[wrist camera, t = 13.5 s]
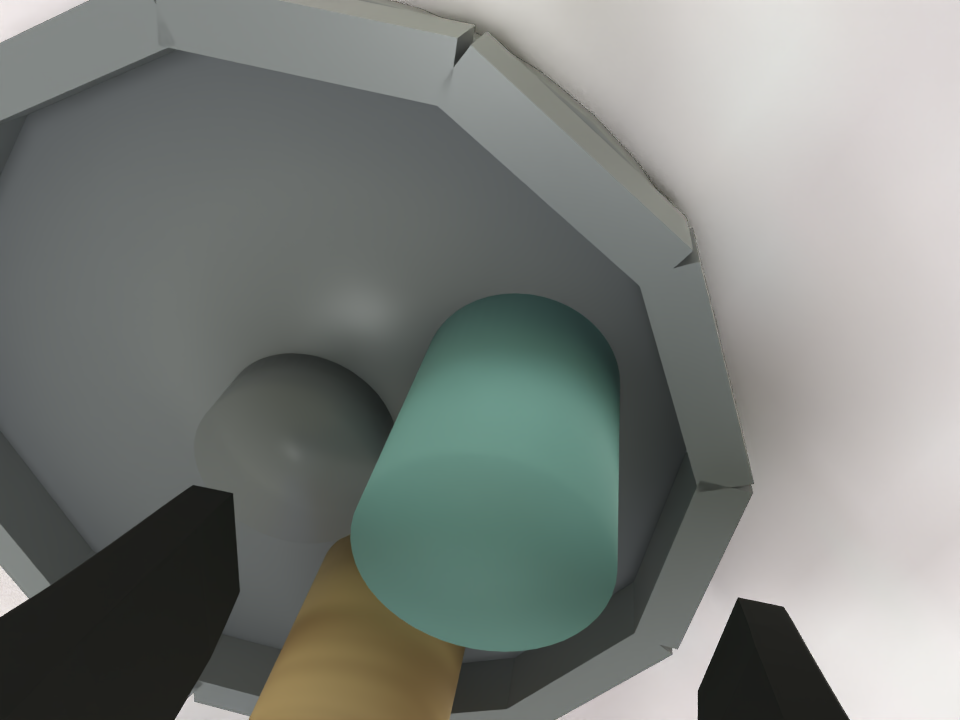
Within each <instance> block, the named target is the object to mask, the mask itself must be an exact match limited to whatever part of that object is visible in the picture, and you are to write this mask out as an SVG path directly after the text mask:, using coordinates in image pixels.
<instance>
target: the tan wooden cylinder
mask: <svg viewBox="0 0 960 720" xmlns="http://www.w3.org/2000/svg"><path fill="white" fill-rule="evenodd" d="M350 535H351V534H350ZM350 535H348V536H346V537H344V538H341V539H340V540H338V541H337V542H336V543H335V544H334V545H333V546H332V547H331V548H330V549H329V551H328V552H327V554H326V556H325V558H324V560H323V562H322V564H321V566H320V569H319V571H318V573H317V575H316V577H315V579H314V581H313V583H312V586H311V588H310V590H309V592H308V594H307V596H306V598H305V601H304V603H303V605H302V607H301V609H300V611H299V613H298V615H297V618H296V620H295V622H294V624H293V626H292V628H291V630H290V633H289V635H288V637H287V639H286V641H285V643H284V645H283V648H282V650H281V652H280V654H279V656H278V658H277V660H276V662H275V665H274V667H273V669H272V671H271V673H270V675H269V677H268V680H267V682H266V684H265V686H264V688H263V690H262V692H261V694H260V697H259V699H258V701H257V703H256V705H255V707H254V709H253V712H252V714H251V716H250V718H249V720H450V715H451V711H452V706H453V701H454V697H455V692H456V688H457V683H458V679H459V674H460V670H461V665H462V660H463V656H464V651H465V647H463V646H459V645H455V644H452V643H449V642H446V641H443V640H440V639H438V638H435V637H433V636H430V635H428V634H426V633H424V632H422V631H420V630H418V629H416V628H414V627H413V626H411V625H409V624H408V623H406V622H405V621H403V620H402V619H400V618H399V617H398V616H396V615H395V614H394V613H393V612H391V611H390V610H389V609H388V608H387V607H386V606H385V605H383V604H382V603H381V602H380V601H379V600H378V599H377V597H376V596H375V595H374V594H373V593H372V591H371V590H370V589H369V588H368V586H367V585H366V583H365V581H364V580H363V578H362V577H361V575H360V572H359V570H358V568H357V566H356V564H355V560H354V557H353V554H352V548H351V540H350Z"/></svg>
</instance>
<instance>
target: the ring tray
mask: <svg viewBox="0 0 960 720" xmlns="http://www.w3.org/2000/svg"><path fill="white" fill-rule="evenodd" d="M474 30H475V25H474V24H469V23H465V22H460V21H455V20H450V19H445V18H441V17H438V16H436V15H434V14H432V13H429V12H427V11H425V10H423V9H420V8H416V7H413V6H409V5H406V4H402V3H399V2H395V1H392V0H89V1H87V2H85V3H83V4H81V5H78V6H76V7H74V8H72V9H70V10H68V11H66V12H64V13H62V14H60V15H58V16H56V17H53V18H51V19H49V20H47V21H45V22H43V23H41V24H39V25H37V26H35V27H33V28H30V29H28V30H26V31H24V32H22V33H20V34H18V35H16V36H14V37H12V38H10V39H8V40H5V41H3V42H1V43H0V565H1V567H2V568H3V569H4V570H5V571H6V572H7V574H8V575H9V576H10V577H11V578H12V579H13V581H14V582H15V583H16V584H17V585H18V586H19V588H20V589H21V590H22V591H23V592H24V593H25V595H26V596H27V597H28V598H29V599H30V598H31V597H33V596H35V595H36V594H38V593H39V592H41V591H42V590H44V589H45V588H47V587H48V586H50V585H51V584H53V583H54V582H56V581H57V580H59V579H60V578H62V577H63V576H64V575H66V574H67V573H69V572H70V571H72V570H73V569H75V568H76V567H77V566H79V565H80V564H82V563H83V562H85V561H86V560H88V559H89V558H91V557H92V556H93V555H95V554H96V553H98V552H99V551H101V550H102V549H104V548H105V547H106V546H108V545H109V544H111V543H112V542H113V541H115V540H116V539H118V538H119V537H120V536H122V535H123V534H125V533H126V532H127V531H129V530H130V529H132V528H133V527H134V526H136V525H137V524H138V523H140V522H141V521H143V520H144V519H145V518H147V517H148V516H149V515H151V514H152V513H154V512H155V511H156V510H158V509H159V508H161V507H162V506H163V505H165V504H166V503H168V502H169V501H170V500H172V499H173V498H175V497H176V496H177V495H179V494H180V493H182V492H183V491H185V490H186V489H188V488H189V487H191V486H192V485H196V486H201V487H206V488H211V489H216V490H221V491H225V492H230V493H233V498H234V513H235V527H236V541H237V555H238V569H239V583H240V593H239V595H238V598H237V600H236V602H235V605H234V607H233V609H232V612H231V614H230V616H229V619H228V621H227V623H226V626H225V628H224V630H223V632H222V634H221V637H220V639H219V641H218V643H217V645H216V647H215V650H214V652H213V654H212V656H211V658H210V660H209V662H208V663H207V665H206V667H205V669H204V670H203V672H202V674H201V676H200V677H199V679H198V681H197V682H196V684H195V686H194V688H193V689H192V691H191V693H190V694H189V696H190V695H192V694H193V693H194V702H198V703H202V704H206V705H209V706H213V707H217V708H221V709H224V710H228V711H232V712H236V713H240V714H243V715H247V716H251V714H252V712H253V709H254V707H255V705H256V703H257V701H258V699H259V697H260V694H261V692H262V690H263V688H264V686H265V684H266V682H267V680H268V677H269V675H270V673H271V671H272V669H273V667H274V665H275V662H276V660H277V658H278V656H279V654H280V652H281V650H282V648H283V645H284V643H285V641H286V639H287V637H288V635H289V633H290V630H291V628H292V626H293V624H294V622H295V620H296V618H297V615H298V613H299V611H300V609H301V607H302V605H303V603H304V601H305V598H306V596H307V594H308V592H309V590H310V588H311V586H312V583H313V581H314V579H315V577H316V575H317V573H318V571H319V569H320V566H321V564H322V562H323V560H324V558H325V556H326V554H327V552H328V551H329V549H330V548H331V547H332V546H333V545H334V544H335V543H336V542H337V541H338V540H340V539H341V538H344V537H346V536H348V535H350V534H351V524H352V519H353V515H354V512H355V510H356V508H357V505H358V503H359V501H360V499H361V496H362V494H363V492H364V490H365V488H366V485H367V483H368V481H369V479H370V476H371V474H372V472H373V470H374V468H375V465H376V463H377V461H378V459H379V457H380V454H381V452H382V450H383V448H384V445H385V443H386V441H387V439H388V437H389V434H390V432H391V430H392V428H393V426H394V423H395V421H396V419H397V417H398V414H399V412H400V410H401V408H402V406H403V403H404V401H405V399H406V397H407V395H408V392H409V390H410V388H411V386H412V383H413V381H414V379H415V377H416V375H417V372H418V370H419V368H420V366H421V364H422V361H423V359H424V357H425V355H426V352H427V350H428V348H429V346H430V344H431V341H432V339H433V337H434V336H435V334H436V332H437V331H438V329H439V328H440V327H441V326H442V324H443V323H444V322H445V321H446V320H447V319H448V318H449V317H450V316H451V315H453V314H454V313H455V312H456V311H458V310H459V309H461V308H463V307H464V306H466V305H468V304H470V303H472V302H474V301H477V300H479V299H483V298H486V297H489V296H494V295H500V294H513V293H519V294H531V295H536V296H542V297H546V298H549V299H552V300H555V301H558V302H560V303H562V304H564V305H567V306H569V307H570V308H572V309H574V310H575V311H577V312H579V313H580V314H582V315H583V316H584V317H585V318H587V319H588V320H589V321H591V322H592V323H593V324H594V325H595V327H596V328H597V329H598V330H599V331H600V332H601V333H602V335H603V336H604V337H605V339H606V340H607V341H608V343H609V345H610V347H611V349H612V351H613V353H614V355H615V358H616V361H617V364H618V369H619V374H620V424H619V493H618V562H617V578H616V584H615V587H614V591H613V594H612V596H611V598H610V600H609V602H608V604H607V606H606V607H605V609H604V610H603V611H602V613H601V614H600V615H599V616H598V617H597V618H596V619H595V620H594V621H593V622H592V623H591V624H590V625H589V626H588V627H586V628H585V629H583V630H582V631H580V632H579V633H578V634H576V635H574V636H572V637H570V638H568V639H566V640H564V641H561V642H558V643H556V644H553V645H550V646H546V647H542V648H538V649H532V650H525V651H510V652H501V651H486V650H479V649H472V648H468V647H465V651H464V656H463V660H462V665H461V670H460V674H459V679H458V683H457V688H456V692H455V697H454V701H453V706H452V711H451V715H450V720H556V719H558V718H559V717H561V716H563V715H565V714H567V713H568V712H570V711H572V710H574V709H576V708H577V707H579V706H581V705H583V704H585V703H586V702H588V701H590V700H592V699H594V698H595V697H597V696H599V695H601V694H603V693H604V692H606V691H608V690H610V689H611V688H613V687H615V686H617V685H619V684H620V683H622V682H624V681H626V680H628V679H629V678H631V677H633V676H635V675H637V674H638V673H640V672H642V671H644V670H646V669H647V668H649V667H651V666H653V665H655V664H656V663H658V662H660V661H662V660H664V659H665V658H667V657H669V656H671V655H672V648H675V649H678V648H679V646H680V643H681V641H682V639H683V637H684V635H685V633H686V631H687V629H688V627H689V625H690V623H691V621H692V618H693V616H694V614H695V612H696V610H697V608H698V606H699V604H700V602H701V600H702V598H703V596H704V594H705V591H706V589H707V587H708V585H709V583H710V581H711V579H712V577H713V575H714V573H715V571H716V569H717V567H718V564H719V562H720V560H721V558H722V556H723V554H724V552H725V550H726V548H727V546H728V544H729V542H730V539H731V537H732V535H733V533H734V531H735V529H736V527H737V525H738V523H739V521H740V519H741V517H742V515H743V512H744V510H745V508H746V506H747V504H748V502H749V500H750V498H751V496H752V494H753V491H752V486H751V484H754V482H753V477H752V473H751V468H750V464H749V459H748V455H747V450H746V446H745V441H744V437H743V433H742V429H741V424H740V420H739V416H738V412H737V408H736V404H735V400H734V396H733V391H732V387H731V383H730V379H729V375H728V371H727V367H726V363H725V359H724V354H723V350H722V346H721V342H720V338H719V333H718V329H717V324H716V319H715V315H714V312H713V309H712V305H711V301H710V297H709V293H708V289H707V284H706V280H705V276H704V272H703V268H702V264H701V260H700V256H699V252H698V247H697V243H696V239H695V235H694V231H693V228H691V229H689V226H688V221H687V218H686V217H685V216H684V215H683V214H682V213H681V212H680V211H679V210H678V209H677V208H676V207H675V206H674V205H672V204H671V203H670V202H669V201H668V200H667V199H666V198H665V197H664V196H663V195H662V194H661V193H660V192H659V191H658V190H656V188H655V187H654V186H653V184H652V183H651V181H650V180H649V178H648V177H647V176H646V174H645V173H644V171H643V170H642V168H641V167H640V165H639V164H638V163H637V161H636V160H635V159H634V158H633V157H632V156H631V155H630V154H629V153H628V152H627V151H626V149H625V148H624V147H623V146H622V145H621V144H620V143H619V142H618V141H617V140H616V139H615V138H614V136H613V135H612V134H611V133H610V132H609V131H608V130H607V129H606V128H605V127H604V126H603V125H602V124H601V122H600V121H599V120H598V119H597V118H596V117H595V116H594V115H593V114H592V113H591V112H589V111H588V110H587V109H586V108H585V107H583V106H582V105H581V104H580V103H578V102H577V101H576V100H575V99H574V98H572V97H571V96H570V95H569V94H568V93H566V92H565V91H564V90H563V89H561V88H560V87H559V86H558V85H557V84H555V83H554V82H553V81H552V80H550V79H549V78H548V77H547V76H546V75H544V74H543V73H542V72H540V71H539V70H537V69H536V68H534V67H532V66H531V65H529V64H527V63H526V62H524V61H523V60H521V59H519V58H518V57H516V56H514V55H513V54H511V53H510V52H509V51H508V50H507V49H506V48H505V47H504V46H503V45H502V44H501V43H499V42H498V41H497V40H496V39H495V38H494V37H493V36H492V35H491V34H490V33H489V32H488V31H487V32H486V33H484V34H483V35H482V36H481V35H479V34H477V33H475V32H474ZM189 696H188V697H189Z"/></svg>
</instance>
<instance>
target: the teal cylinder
mask: <svg viewBox="0 0 960 720" xmlns="http://www.w3.org/2000/svg"><path fill="white" fill-rule="evenodd" d="M619 424H620V374H619V369H618V364H617V361H616V358H615V355H614V353H613V351H612V349H611V347H610V345H609V343H608V341H607V340H606V339H605V337H604V336H603V335H602V333H601V332H600V331H599V330H598V329H597V328H596V327H595V325H594V324H593V323H592V322H591V321H589V320H588V319H587V318H585V317H584V316H583V315H582V314H580V313H579V312H577V311H575V310H574V309H572V308H570V307H569V306H567V305H564V304H562V303H560V302H558V301H555V300H552V299H549V298H546V297H542V296H536V295H531V294H519V293H513V294H500V295H494V296H489V297H486V298H483V299H479V300H477V301H474V302H472V303H470V304H468V305H466V306H464V307H463V308H461V309H459V310H458V311H456V312H455V313H454V314H453V315H451V316H450V317H449V318H448V319H447V320H446V321H445V322H444V323H443V324H442V326H441V327H440V328H439V329H438V331H437V332H436V334H435V336H434V337H433V339H432V341H431V344H430V346H429V348H428V350H427V352H426V355H425V357H424V359H423V361H422V364H421V366H420V368H419V370H418V372H417V375H416V377H415V379H414V381H413V383H412V386H411V388H410V390H409V392H408V395H407V397H406V399H405V401H404V403H403V406H402V408H401V410H400V412H399V414H398V417H397V419H396V421H395V423H394V426H393V428H392V430H391V432H390V434H389V437H388V439H387V441H386V443H385V445H384V448H383V450H382V452H381V454H380V457H379V459H378V461H377V463H376V465H375V468H374V470H373V472H372V474H371V476H370V479H369V481H368V483H367V485H366V488H365V490H364V492H363V494H362V496H361V499H360V501H359V503H358V505H357V508H356V510H355V512H354V515H353V519H352V524H351V535H350V540H351V548H352V554H353V557H354V560H355V564H356V566H357V568H358V570H359V572H360V575H361V577H362V578H363V580H364V581H365V583H366V585H367V586H368V588H369V589H370V590H371V591H372V593H373V594H374V595H375V596H376V597H377V599H378V600H379V601H380V602H381V603H382V604H383V605H385V606H386V607H387V608H388V609H389V610H390V611H391V612H393V613H394V614H395V615H396V616H398V617H399V618H400V619H402V620H403V621H405V622H406V623H408V624H409V625H411V626H413V627H414V628H416V629H418V630H420V631H422V632H424V633H426V634H428V635H430V636H433V637H435V638H438V639H440V640H443V641H446V642H449V643H452V644H455V645H459V646H463V647H468V648H472V649H479V650H486V651H501V652H510V651H525V650H532V649H538V648H542V647H546V646H550V645H553V644H556V643H558V642H561V641H564V640H566V639H568V638H570V637H572V636H574V635H576V634H578V633H579V632H580V631H582V630H583V629H585V628H586V627H588V626H589V625H590V624H591V623H592V622H593V621H594V620H595V619H596V618H597V617H598V616H599V615H600V614H601V613H602V611H603V610H604V609H605V607H606V606H607V604H608V602H609V600H610V598H611V596H612V594H613V591H614V587H615V584H616V578H617V562H618V493H619Z"/></svg>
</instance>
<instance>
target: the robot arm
mask: <svg viewBox="0 0 960 720" xmlns="http://www.w3.org/2000/svg"><path fill="white" fill-rule="evenodd" d="M239 593H240V583H239V569H238V555H237V541H236V527H235V513H234V498H233V493H230V492H225V491H221V490H216V489H211V488H206V487H201V486H196V485H192V486H191V487H189V488H188V489H186V490H185V491H183V492H182V493H180V494H179V495H177V496H176V497H175V498H173V499H172V500H170V501H169V502H168V503H166V504H165V505H163V506H162V507H161V508H159V509H158V510H156V511H155V512H154V513H152V514H151V515H149V516H148V517H147V518H145V519H144V520H143V521H141V522H140V523H138V524H137V525H136V526H134V527H133V528H132V529H130V530H129V531H127V532H126V533H125V534H123V535H122V536H120V537H119V538H118V539H116V540H115V541H113V542H112V543H111V544H109V545H108V546H106V547H105V548H104V549H102V550H101V551H99V552H98V553H96V554H95V555H93V556H92V557H91V558H89V559H88V560H86V561H85V562H83V563H82V564H80V565H79V566H77V567H76V568H75V569H73V570H72V571H70V572H69V573H67V574H66V575H64V576H63V577H62V578H60V579H59V580H57V581H56V582H54V583H53V584H51V585H50V586H48V587H47V588H45V589H44V590H42V591H41V592H39V593H38V594H36V595H35V596H33V597H31V598H30V599H28V600H27V601H25V602H24V603H22V604H20V605H19V606H17V607H16V608H14V609H12V610H11V611H9V612H8V613H6V614H5V615H3V616H1V617H0V720H175V718H176V716H177V715H178V713H179V711H180V710H181V708H182V706H183V705H184V703H185V701H186V699H187V698H188V696H189V694H190V693H191V691H192V689H193V688H194V686H195V684H196V682H197V681H198V679H199V677H200V676H201V674H202V672H203V670H204V669H205V667H206V665H207V663H208V662H209V660H210V658H211V656H212V654H213V652H214V650H215V647H216V645H217V643H218V641H219V639H220V637H221V634H222V632H223V630H224V628H225V626H226V623H227V621H228V619H229V616H230V614H231V612H232V609H233V607H234V605H235V602H236V600H237V598H238V595H239ZM698 720H850V719H849V718H848V716H847V715H846V713H845V711H844V710H843V708H842V706H841V705H840V703H839V701H838V699H837V698H836V696H835V694H834V693H833V691H832V689H831V687H830V686H829V684H828V682H827V681H826V679H825V677H824V676H823V674H822V672H821V670H820V669H819V667H818V665H817V663H816V662H815V660H814V658H813V656H812V655H811V653H810V651H809V649H808V648H807V646H806V644H805V642H804V641H803V639H802V637H801V635H800V634H799V632H798V630H797V628H796V627H795V625H794V623H793V621H792V620H791V618H790V616H789V614H788V613H787V611H786V610H785V608H784V607H782V606H777V605H772V604H767V603H762V602H758V601H753V600H748V599H743V598H738V599H737V601H736V603H735V606H734V608H733V610H732V613H731V615H730V617H729V620H728V622H727V624H726V627H725V629H724V631H723V634H722V636H721V638H720V641H719V643H718V645H717V648H716V650H715V652H714V655H713V657H712V659H711V662H710V664H709V666H708V669H707V671H706V673H705V676H704V678H703V680H702V683H701V685H700V687H699V690H698Z"/></svg>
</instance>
